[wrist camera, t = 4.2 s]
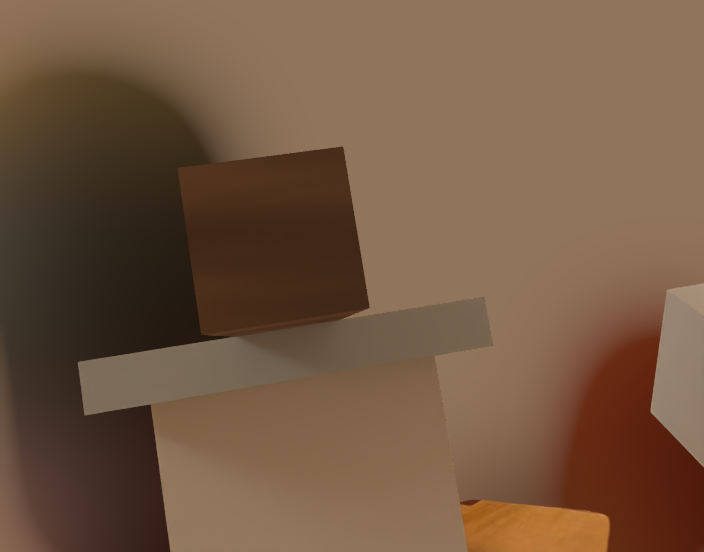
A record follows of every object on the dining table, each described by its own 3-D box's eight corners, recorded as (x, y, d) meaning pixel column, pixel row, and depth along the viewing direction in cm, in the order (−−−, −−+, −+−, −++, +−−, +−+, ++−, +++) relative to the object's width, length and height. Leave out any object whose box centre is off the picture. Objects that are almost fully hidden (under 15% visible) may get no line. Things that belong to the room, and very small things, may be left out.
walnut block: (369, 308, 15) (343, 146, 16) (201, 334, 15) (177, 168, 15) (318, 328, 43) (309, 269, 43) (259, 337, 43) (250, 278, 43)
